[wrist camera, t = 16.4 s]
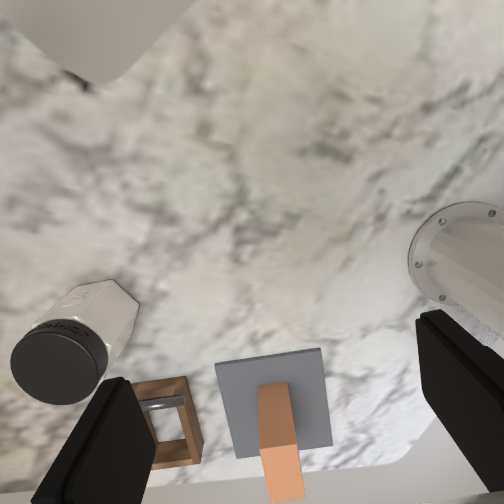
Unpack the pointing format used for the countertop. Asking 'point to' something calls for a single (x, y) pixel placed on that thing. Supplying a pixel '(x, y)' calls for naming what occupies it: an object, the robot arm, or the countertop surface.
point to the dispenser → (179, 396)
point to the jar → (74, 343)
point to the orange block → (279, 444)
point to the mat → (300, 391)
